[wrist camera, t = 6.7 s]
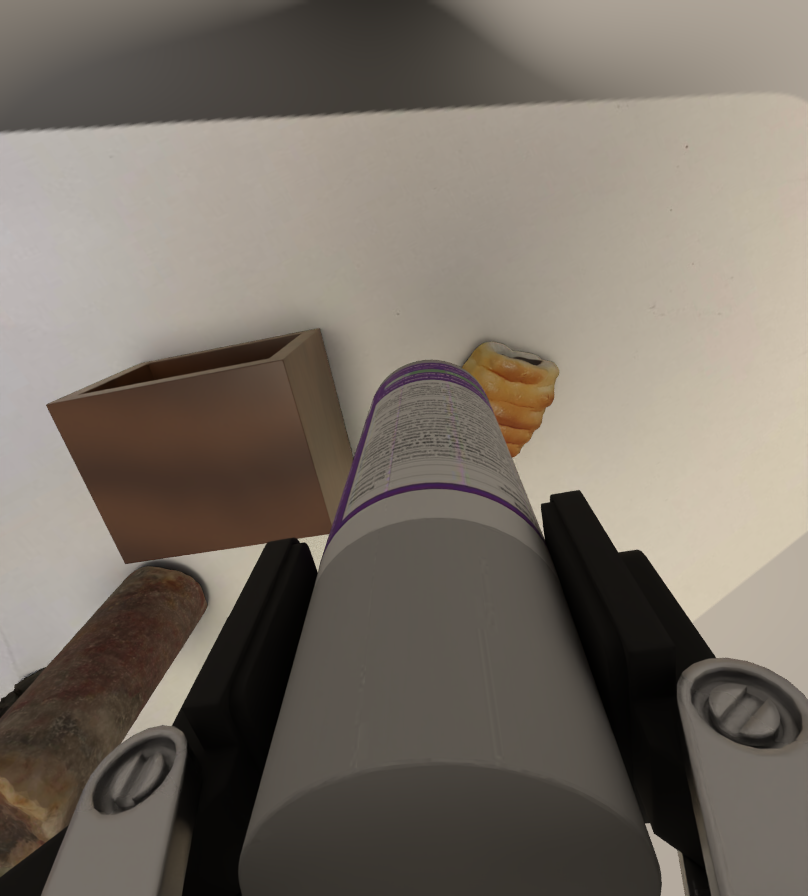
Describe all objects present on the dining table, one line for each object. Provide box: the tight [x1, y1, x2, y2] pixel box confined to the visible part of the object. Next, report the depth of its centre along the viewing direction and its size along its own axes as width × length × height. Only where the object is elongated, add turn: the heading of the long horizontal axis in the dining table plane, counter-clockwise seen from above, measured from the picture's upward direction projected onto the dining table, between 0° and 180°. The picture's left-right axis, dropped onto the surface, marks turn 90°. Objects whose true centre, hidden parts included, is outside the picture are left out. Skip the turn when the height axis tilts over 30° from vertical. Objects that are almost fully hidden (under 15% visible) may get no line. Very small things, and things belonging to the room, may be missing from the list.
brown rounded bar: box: [0, 566, 207, 868], centre depth 36 cm, size 8×7×20 cm
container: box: [238, 360, 662, 896], centre depth 12 cm, size 5×5×15 cm
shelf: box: [46, 328, 353, 564], centre depth 33 cm, size 11×14×10 cm
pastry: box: [462, 342, 559, 457], centre depth 35 cm, size 9×7×4 cm
